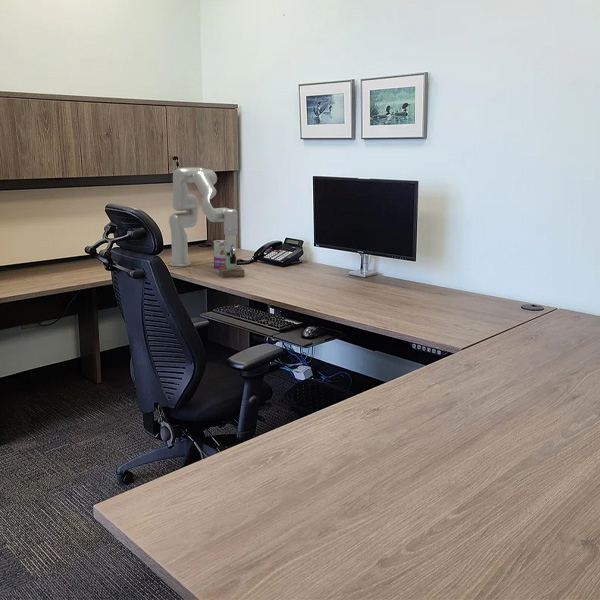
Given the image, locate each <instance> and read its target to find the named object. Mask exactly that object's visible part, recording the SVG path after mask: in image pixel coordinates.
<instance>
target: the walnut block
mask: <svg viewBox="0 0 600 600" xmlns="http://www.w3.org/2000/svg"><path fill="white" fill-rule="evenodd" d="M218 274H219V275H220V276H221V278H222V277H223V279H226V278H227V279H229V277H234V278H245V269H244V268H242V267H241V265H237V269H227V268H226V267H219V268H218Z"/></svg>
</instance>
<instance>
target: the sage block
mask: <svg viewBox="0 0 600 600" xmlns="http://www.w3.org/2000/svg"><path fill="white" fill-rule="evenodd" d="M230 257H231V256H230V255H227V256H226V268H227V269H237V266H238V265H237V259H236V264H230Z"/></svg>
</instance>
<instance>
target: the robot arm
mask: <svg viewBox="0 0 600 600" xmlns="http://www.w3.org/2000/svg"><path fill="white" fill-rule="evenodd" d="M217 181H218V177H217V174H216V173H215V171H214V170H212V169H207V168H203V167H180V168H177V169H175V170H174V172H173V173H172V183H173V191H172V193H173V194H172V207H173V210H175V211H177V212H174V213H172V214H170V215H169V217H168V224H169V228H170V240H171V241H170V242H171V257H172V258H171V259H172V260H171V262H169V266H171V267H187V266H188V267H189V266H190V265H191V264H192V263H191V262H190V261H189V254H188V253H189V251H188V246H189V245H188V235H187V232H186V229H189V228H194V227H195V226H196V225H197V222H198V215H199V214H198V213H199V212H198V211H199V201H198V198H197V196H196V195H195V194H191V193H190V194H189V187H188V185H187V183H194V184H195V185H196V188H197V190H198V192H199V193H200V195H201V196H202V200H201V208H202V211H203V214H204V215H205V218H206V219H207V220H208V221H209V222H211V223H220V222H223V235H225V236H224V237H225V238H224V240H225V251H226V252H227V255H230V256H231V257H230V264H236V260H237V253H236V252H237V235H238V234H239V232H238V231H239V230H238V229H239V227H238V226H239V225H238V210H237V209H234V208H228V207H217V208H216V207H215V208H214V207H213V205H212V203H211V200H212V199H213V198H214V197H215V196H216V195H217V189H216V187H215V186H214V185H215V184H216V183H217ZM178 211H179V212H178ZM184 211H185V212H184Z"/></svg>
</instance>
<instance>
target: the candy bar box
mask: <svg viewBox="0 0 600 600" xmlns="http://www.w3.org/2000/svg"><path fill="white" fill-rule="evenodd" d="M226 256H227V252H226V251H225V239H224V240H223V239H221V240H219V239H216V240H213V268H214V269H219V267H226Z"/></svg>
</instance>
